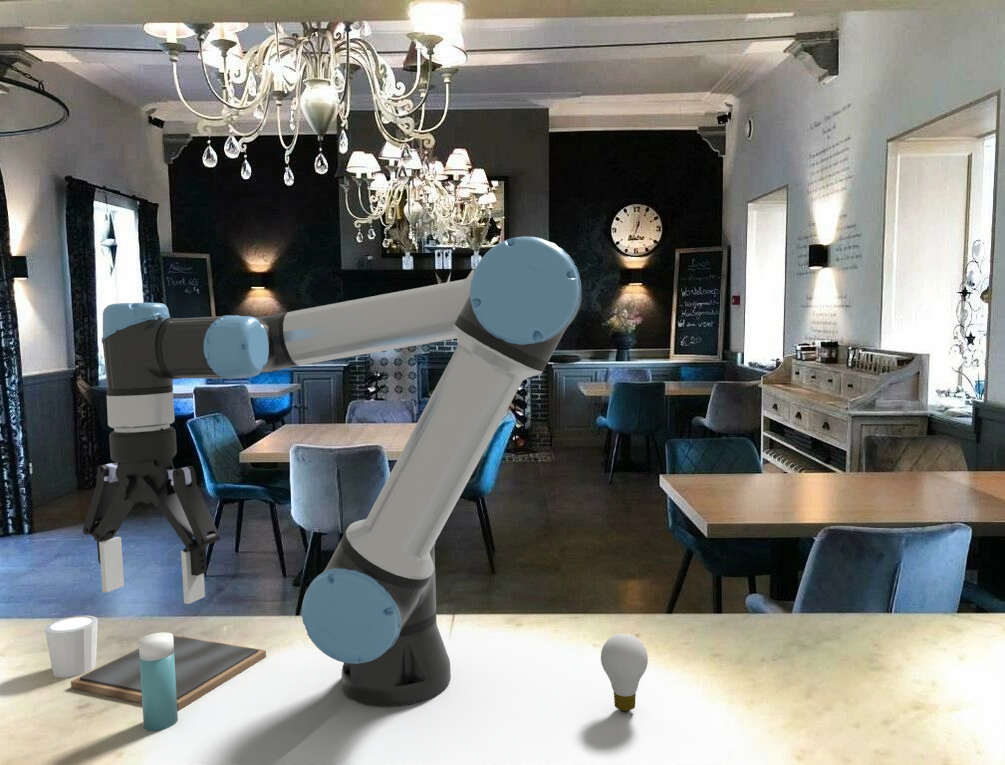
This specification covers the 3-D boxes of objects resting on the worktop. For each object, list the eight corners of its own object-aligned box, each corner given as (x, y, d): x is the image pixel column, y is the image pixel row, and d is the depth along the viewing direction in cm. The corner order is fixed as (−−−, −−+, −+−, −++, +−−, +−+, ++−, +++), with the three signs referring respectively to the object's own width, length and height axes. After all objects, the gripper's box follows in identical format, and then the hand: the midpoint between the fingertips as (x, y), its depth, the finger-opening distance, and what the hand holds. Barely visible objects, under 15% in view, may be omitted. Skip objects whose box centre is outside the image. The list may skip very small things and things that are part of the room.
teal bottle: (184, 717, 100) (180, 634, 99) (160, 733, 96) (155, 646, 95) (161, 712, 101) (156, 630, 101) (136, 727, 98) (131, 642, 97)
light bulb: (637, 727, 95) (636, 648, 94) (593, 716, 98) (592, 638, 97) (655, 707, 100) (654, 631, 99) (613, 696, 103) (612, 623, 102)
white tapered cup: (77, 680, 111) (74, 633, 111) (36, 677, 113) (33, 630, 112) (110, 660, 118) (108, 615, 118) (71, 657, 119) (68, 613, 119)
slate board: (266, 656, 118) (265, 648, 118) (178, 710, 102) (178, 700, 102) (167, 640, 125) (167, 632, 125) (71, 688, 109) (70, 679, 109)
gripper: (243, 425, 95) (252, 594, 97) (95, 422, 104) (106, 576, 106) (198, 434, 88) (208, 615, 90) (44, 429, 98) (56, 594, 99)
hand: (153, 594), depth 98 cm, fingers open, 13 cm apart
